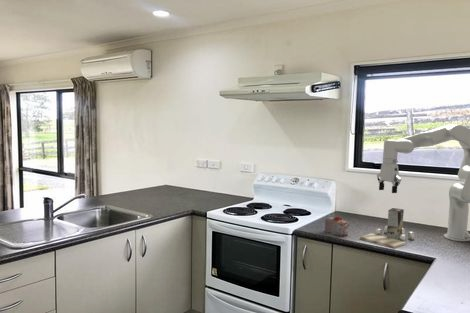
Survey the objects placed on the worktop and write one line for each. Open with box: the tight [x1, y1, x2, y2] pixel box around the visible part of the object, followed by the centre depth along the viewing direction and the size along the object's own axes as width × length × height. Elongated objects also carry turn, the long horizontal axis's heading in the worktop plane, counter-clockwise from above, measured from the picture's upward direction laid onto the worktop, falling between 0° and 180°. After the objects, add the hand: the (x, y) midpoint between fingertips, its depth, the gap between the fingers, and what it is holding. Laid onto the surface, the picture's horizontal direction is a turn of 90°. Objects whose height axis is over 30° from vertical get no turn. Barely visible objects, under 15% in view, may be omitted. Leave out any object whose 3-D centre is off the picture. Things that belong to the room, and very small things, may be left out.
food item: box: [324, 216, 350, 237], centre depth 223 cm, size 14×8×10 cm, turn 38°
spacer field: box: [375, 225, 415, 243], centre depth 220 cm, size 17×16×4 cm
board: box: [359, 233, 407, 249], centre depth 211 cm, size 20×12×1 cm, turn 40°
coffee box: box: [386, 207, 405, 241], centre depth 218 cm, size 9×6×16 cm
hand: (387, 191), depth 221 cm, fingers open, 9 cm apart
